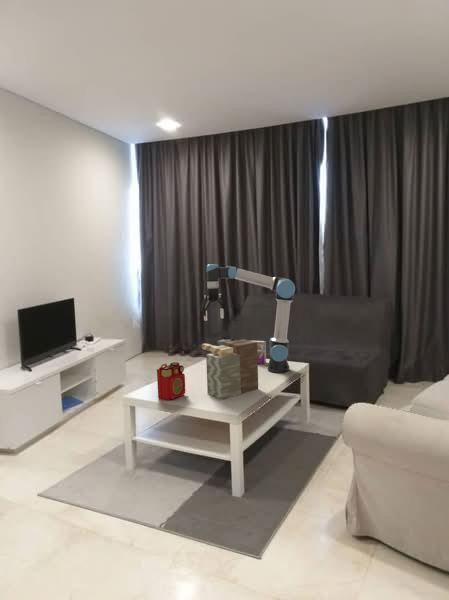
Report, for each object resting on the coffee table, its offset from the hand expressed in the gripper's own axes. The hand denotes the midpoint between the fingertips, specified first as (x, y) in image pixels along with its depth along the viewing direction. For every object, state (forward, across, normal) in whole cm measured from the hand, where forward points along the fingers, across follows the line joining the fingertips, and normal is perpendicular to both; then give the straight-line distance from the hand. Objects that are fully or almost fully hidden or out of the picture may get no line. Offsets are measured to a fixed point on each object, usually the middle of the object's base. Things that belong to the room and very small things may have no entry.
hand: (214, 319), depth 305 cm
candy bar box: (+39, -44, -6) cm, 59 cm away
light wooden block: (+15, +20, +27) cm, 36 cm away
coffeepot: (+39, -33, -30) cm, 59 cm away
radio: (+39, +45, +16) cm, 61 cm away
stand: (+39, +13, +34) cm, 53 cm away
